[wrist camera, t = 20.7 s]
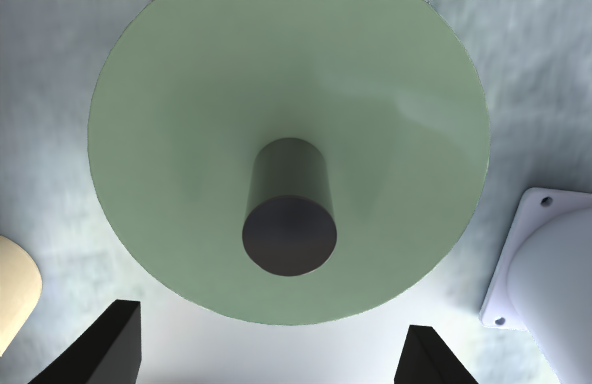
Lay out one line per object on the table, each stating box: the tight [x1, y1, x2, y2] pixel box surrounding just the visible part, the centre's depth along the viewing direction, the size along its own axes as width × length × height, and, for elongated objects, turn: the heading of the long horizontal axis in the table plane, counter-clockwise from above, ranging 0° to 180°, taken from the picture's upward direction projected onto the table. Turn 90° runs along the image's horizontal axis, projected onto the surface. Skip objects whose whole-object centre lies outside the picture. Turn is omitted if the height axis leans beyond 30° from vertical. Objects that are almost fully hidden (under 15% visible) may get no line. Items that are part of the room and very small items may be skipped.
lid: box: [87, 0, 490, 326], centre depth 15 cm, size 13×13×5 cm
